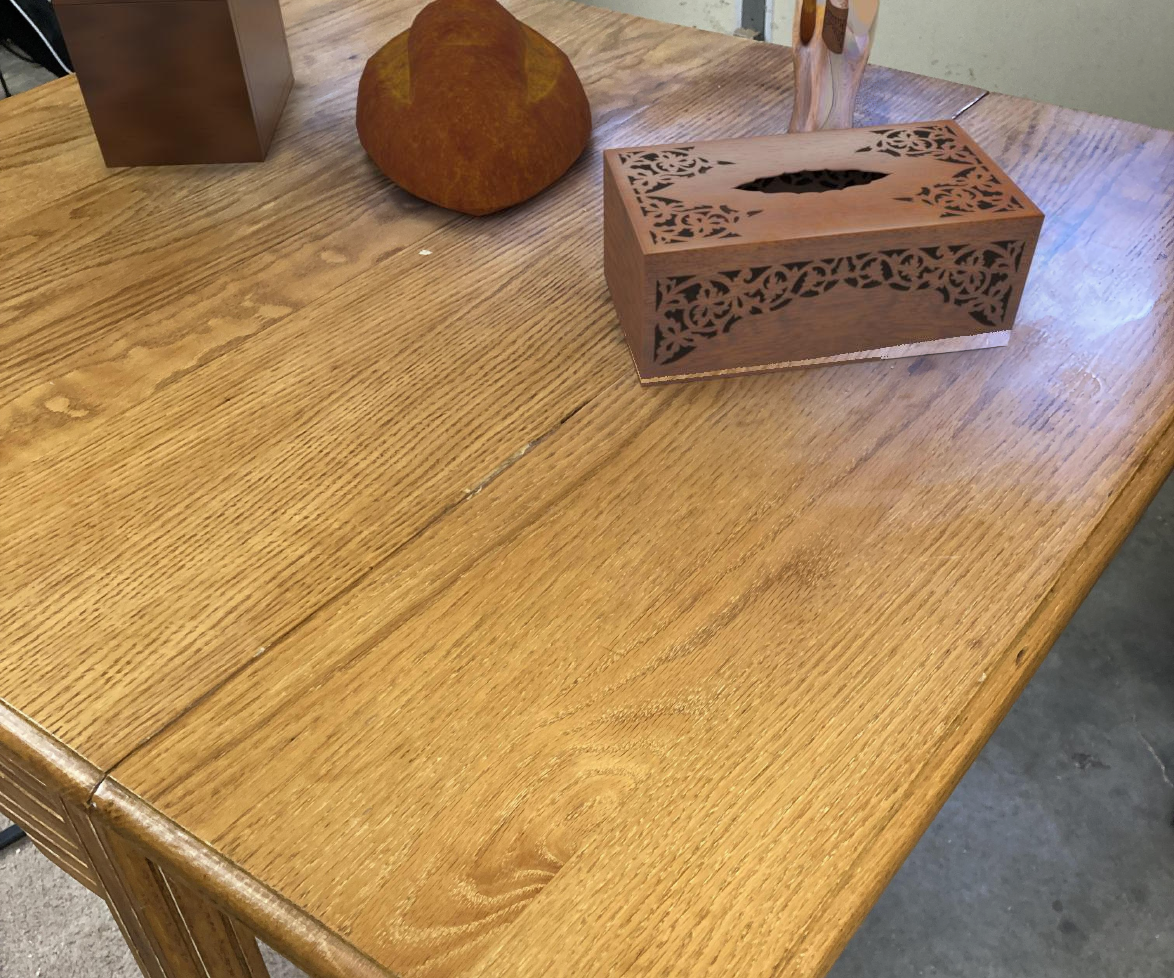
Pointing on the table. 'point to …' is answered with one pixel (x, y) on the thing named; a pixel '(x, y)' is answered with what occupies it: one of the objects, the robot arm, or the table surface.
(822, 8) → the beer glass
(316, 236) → the table surface
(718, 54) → the table surface
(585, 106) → the bread
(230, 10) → the bronze square pillar
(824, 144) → the tissue box cover
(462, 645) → the table surface
